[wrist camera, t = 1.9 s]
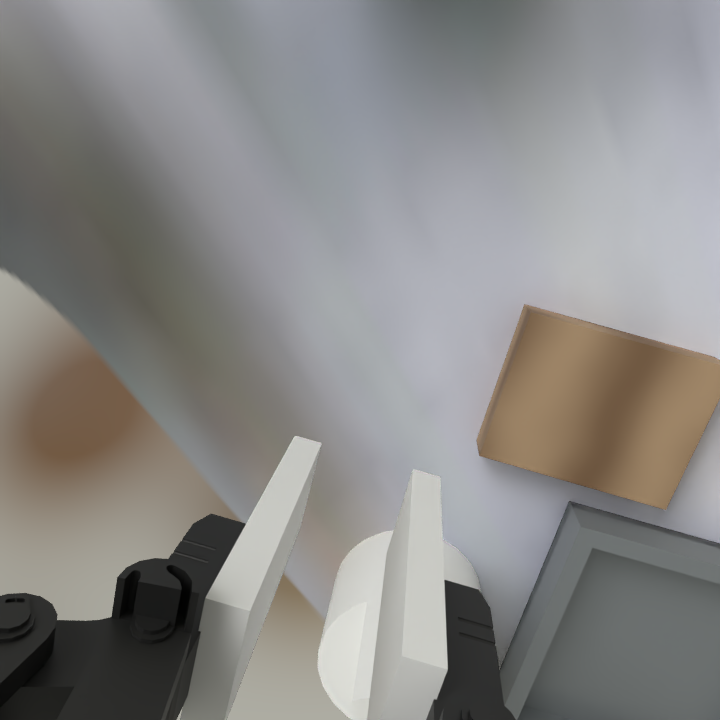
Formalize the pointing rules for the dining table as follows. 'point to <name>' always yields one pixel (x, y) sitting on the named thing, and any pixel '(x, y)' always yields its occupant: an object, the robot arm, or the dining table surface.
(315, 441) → the robot arm
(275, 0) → the dining table surface
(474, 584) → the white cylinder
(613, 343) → the tan rounded-edge slab
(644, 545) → the tray
